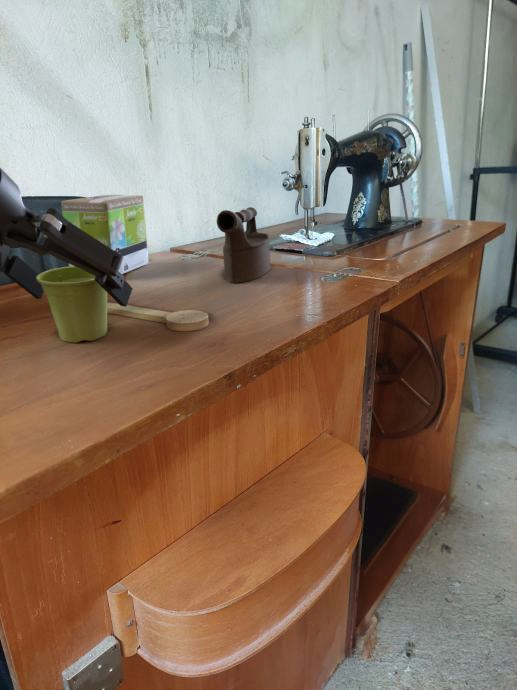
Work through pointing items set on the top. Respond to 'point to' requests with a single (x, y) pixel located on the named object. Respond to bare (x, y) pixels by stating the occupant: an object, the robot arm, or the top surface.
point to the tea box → (113, 225)
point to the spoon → (164, 316)
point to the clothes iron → (243, 246)
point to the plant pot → (75, 303)
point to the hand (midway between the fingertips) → (83, 293)
